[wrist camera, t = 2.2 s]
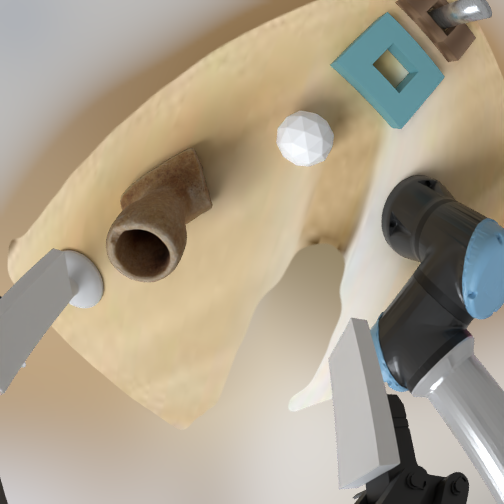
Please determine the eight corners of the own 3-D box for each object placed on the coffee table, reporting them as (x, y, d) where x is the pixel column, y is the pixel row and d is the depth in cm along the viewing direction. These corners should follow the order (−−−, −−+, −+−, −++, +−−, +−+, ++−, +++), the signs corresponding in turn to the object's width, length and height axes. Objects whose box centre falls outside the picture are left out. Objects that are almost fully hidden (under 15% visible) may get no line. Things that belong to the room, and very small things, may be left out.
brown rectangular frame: (466, 39, 31) (475, 37, 28) (448, 61, 34) (458, 60, 31) (417, -17, 27) (425, -21, 24) (395, 2, 29) (403, -3, 27)
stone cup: (153, 252, 48) (124, 303, 34) (115, 193, 43) (69, 226, 29) (231, 211, 45) (228, 253, 32) (194, 144, 40) (171, 156, 27)
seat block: (434, 77, 35) (444, 76, 33) (392, 127, 40) (401, 129, 37) (379, 17, 31) (387, 12, 28) (330, 65, 35) (336, 61, 33)
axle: (445, 24, 30) (494, 12, 17) (436, 34, 31) (487, 21, 19) (431, 8, 29) (478, -10, 16) (422, 17, 30) (470, -1, 17)
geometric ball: (286, 143, 43) (257, 153, 38) (305, 100, 38) (278, 101, 32) (326, 170, 42) (303, 184, 36) (350, 125, 36) (331, 131, 31)
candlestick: (114, 281, 50) (40, 410, 23) (87, 316, 53) (25, 429, 26) (65, 237, 46) (-38, 340, 19) (43, 277, 49) (-38, 375, 22)
